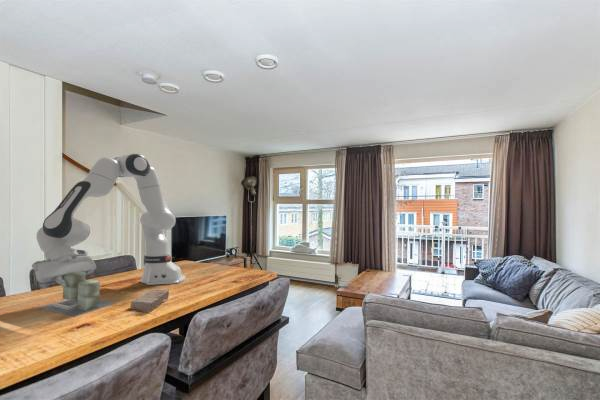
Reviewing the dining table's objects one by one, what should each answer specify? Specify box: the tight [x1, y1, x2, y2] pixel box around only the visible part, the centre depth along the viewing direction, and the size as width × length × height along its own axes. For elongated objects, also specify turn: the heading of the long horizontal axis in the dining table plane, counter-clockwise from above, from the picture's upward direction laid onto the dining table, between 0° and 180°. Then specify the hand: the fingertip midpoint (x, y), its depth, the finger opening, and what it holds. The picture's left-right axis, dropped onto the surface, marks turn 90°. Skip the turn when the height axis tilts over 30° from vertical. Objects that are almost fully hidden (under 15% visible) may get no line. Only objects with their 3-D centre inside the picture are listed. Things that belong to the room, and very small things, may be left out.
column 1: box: [62, 271, 86, 300], centre depth 115 cm, size 5×5×10 cm
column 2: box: [77, 279, 101, 311], centre depth 111 cm, size 5×5×10 cm
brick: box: [130, 288, 170, 314], centre depth 119 cm, size 17×8×5 cm, turn 0°
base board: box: [37, 299, 117, 318], centre depth 114 cm, size 16×22×2 cm
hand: (75, 284), depth 115 cm, fingers closed on column 1, 5 cm apart
